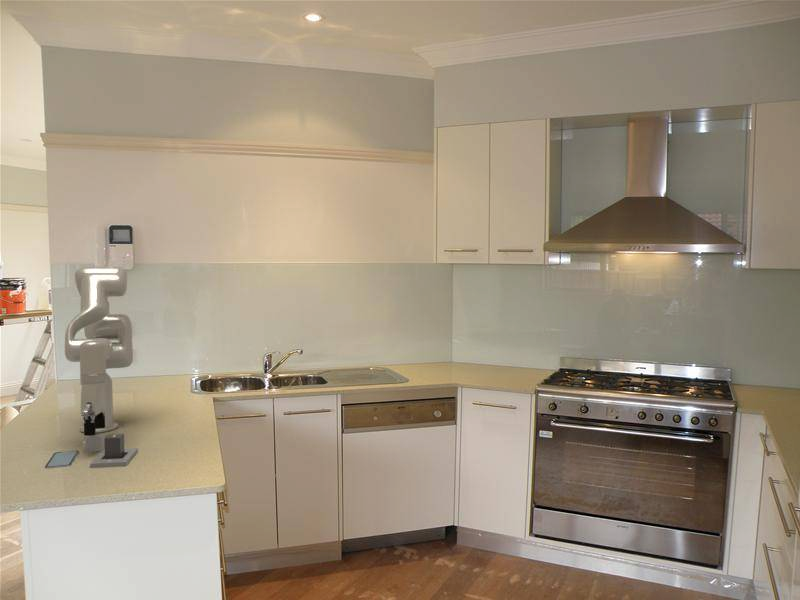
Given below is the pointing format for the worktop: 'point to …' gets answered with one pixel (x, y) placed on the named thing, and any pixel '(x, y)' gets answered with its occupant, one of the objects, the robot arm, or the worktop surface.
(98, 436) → the cable plug
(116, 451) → the block
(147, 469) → the worktop surface
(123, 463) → the outlet plate
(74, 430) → the worktop surface
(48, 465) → the smartphone
